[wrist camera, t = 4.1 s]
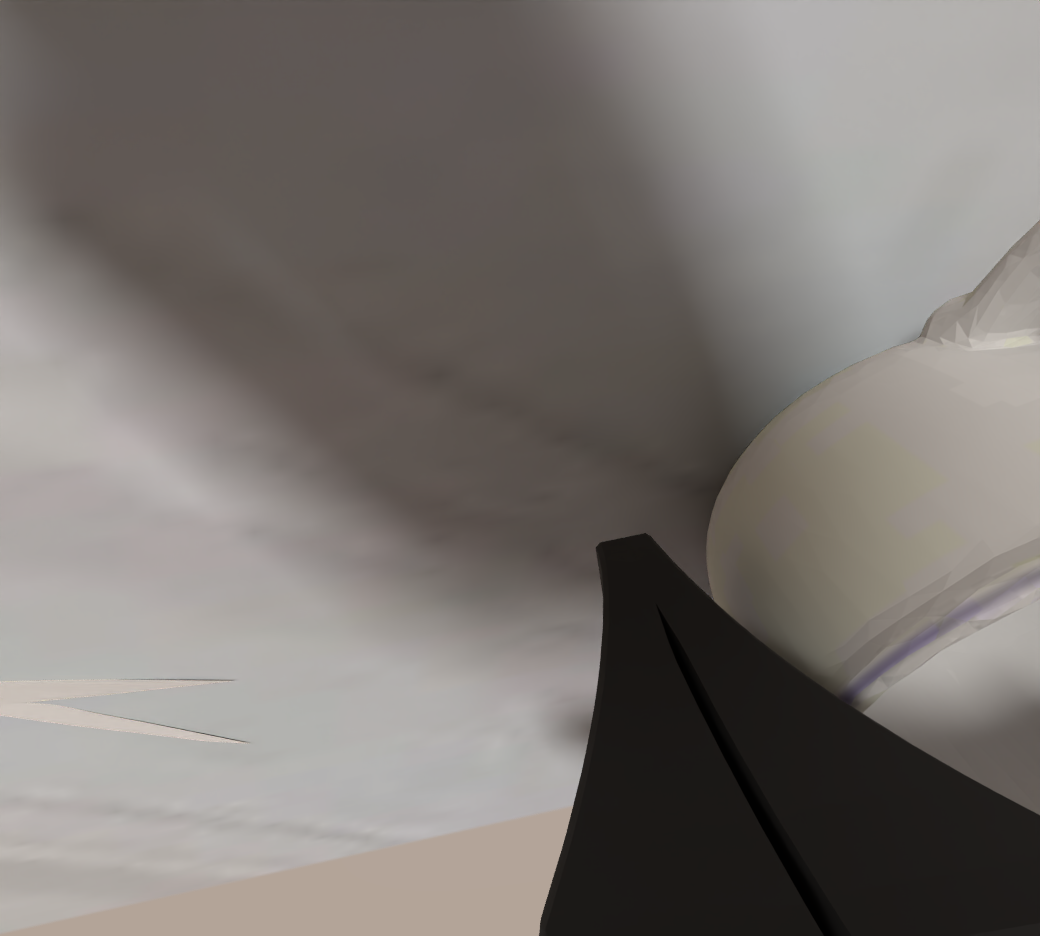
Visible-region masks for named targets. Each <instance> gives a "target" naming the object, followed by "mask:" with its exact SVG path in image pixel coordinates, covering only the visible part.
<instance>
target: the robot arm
mask: <svg viewBox="0 0 1040 936" xmlns="http://www.w3.org/2000/svg"><path fill="white" fill-rule="evenodd" d="M596 552H597V559H598V565H599V572H600V579H601V585H602V592H603V634H602V646H601V659H600V669H599V678H598V685H597V693H596V699H595V706H594V712H593V718H592V723H591V729H590V734H589V739H588V744H587V750H586V754H585V759H584V764H583V768H582V773H581V777H580V781H579V785H578V789H577V793H576V797H575V801H574V805H573V809H572V813H571V817H570V821H569V825H568V829H567V833H566V836H565V840H564V844H563V847H562V851H561V854H560V857H559V861H558V864H557V867H556V871H555V874H554V877H553V880H552V884H551V887H550V890H549V894H548V897H547V900H546V904H545V907H544V910H543V914H542V917H541V923H540V933H539V936H1040V815H1039V814H1037V813H1035V812H1033V811H1031V810H1029V809H1027V808H1025V807H1024V806H1022V805H1020V804H1018V803H1016V802H1014V801H1012V800H1010V799H1008V798H1006V797H1005V796H1003V795H1001V794H999V793H997V792H995V791H993V790H992V789H990V788H988V787H986V786H984V785H982V784H981V783H979V782H977V781H975V780H973V779H972V778H970V777H968V776H966V775H964V774H963V773H961V772H959V771H957V770H956V769H954V768H952V767H950V766H949V765H947V764H945V763H944V762H942V761H940V760H938V759H937V758H935V757H933V756H931V755H930V754H928V753H926V752H925V751H923V750H921V749H919V748H918V747H916V746H914V745H912V744H911V743H909V742H908V741H906V740H904V739H903V738H901V737H900V736H898V735H896V734H895V733H893V732H892V731H890V730H889V729H887V728H885V727H884V726H882V725H881V724H879V723H877V722H876V721H874V720H873V719H871V718H869V717H868V716H866V715H865V714H863V713H862V712H860V711H858V710H857V709H855V708H854V707H852V706H850V705H849V704H847V703H846V702H844V701H843V700H841V699H840V698H838V697H837V696H835V695H834V694H832V693H831V692H829V691H828V690H826V689H825V688H824V687H822V686H821V685H819V684H818V683H816V682H815V681H813V680H812V679H811V678H809V677H808V676H806V675H805V674H804V673H802V672H801V671H799V670H798V669H797V668H795V667H794V666H793V665H791V664H790V663H789V662H787V661H786V660H784V659H783V658H782V657H780V656H779V655H778V654H777V653H775V652H774V651H773V650H771V649H770V648H769V647H768V646H766V645H765V644H764V643H763V642H761V641H760V640H759V639H758V638H756V637H755V636H754V635H753V634H751V633H750V632H749V631H748V630H747V629H745V628H744V627H743V626H742V625H741V624H739V623H738V622H737V621H736V620H735V619H734V618H732V617H731V616H730V615H729V614H728V613H727V612H726V611H724V610H723V609H722V608H721V607H720V606H719V605H718V604H717V603H716V602H714V601H713V600H712V599H711V598H710V597H709V596H708V595H707V594H706V593H705V592H704V591H703V590H702V589H700V588H699V587H698V586H697V585H696V584H695V583H694V582H693V581H692V580H691V579H690V578H689V577H688V576H687V575H686V574H685V573H684V572H683V571H682V570H681V569H680V568H679V567H678V566H677V565H676V564H675V563H674V562H673V561H672V560H671V559H670V557H669V556H668V555H667V554H666V553H665V552H664V551H663V550H662V549H661V548H660V546H659V545H658V544H657V543H656V542H655V541H654V540H653V538H652V537H651V536H649V535H648V534H646V533H644V534H640V535H635V536H630V537H625V538H620V539H615V540H611V541H606V542H601V543H600V544H599V545H598V546H597V547H596Z"/></svg>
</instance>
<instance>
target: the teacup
mask: <svg viewBox="0 0 1040 936" xmlns="http://www.w3.org/2000/svg"><path fill="white" fill-rule="evenodd" d="M706 563H707V571H708V579H709V583H710V587H711V591H712V595H713V598H714V602H716V603H717V604H718V605H719V606H720V607H721V608H722V609H723V610H724V611H726V612H727V613H728V614H729V615H730V616H731V617H732V618H734V619H735V620H736V621H737V622H738V623H739V624H741V625H742V626H743V627H744V628H745V629H747V630H748V631H749V632H750V633H751V634H753V635H754V636H755V637H756V638H758V639H759V640H760V641H761V642H763V643H764V644H765V645H766V646H768V647H769V648H770V649H771V650H773V651H774V652H775V653H777V654H778V655H779V656H780V657H782V658H783V659H784V660H786V661H787V662H789V663H790V664H791V665H793V666H794V667H795V668H797V669H798V670H799V671H801V672H802V673H804V674H805V675H806V676H808V677H809V678H811V679H812V680H813V681H815V682H816V683H818V684H819V685H821V686H822V687H824V688H825V689H826V690H828V691H829V692H831V693H832V694H834V695H835V696H837V697H838V698H840V699H841V700H843V701H844V702H846V703H847V704H849V705H850V706H852V707H854V708H855V709H857V710H858V711H860V712H862V713H863V714H865V715H866V716H868V717H869V718H871V719H873V720H874V721H876V722H877V723H879V724H881V725H882V726H884V727H885V728H887V729H889V730H890V731H892V732H893V733H895V734H896V735H898V736H900V737H901V738H903V739H904V740H906V741H908V742H909V743H911V744H912V745H914V746H916V747H918V748H919V749H921V750H923V751H925V752H926V753H928V754H930V755H931V756H933V757H935V758H937V759H938V760H940V761H942V762H944V763H945V764H947V765H949V766H950V767H952V768H954V769H956V770H957V771H959V772H961V773H963V774H964V775H966V776H968V777H970V778H972V779H973V780H975V781H977V782H979V783H981V784H982V785H984V786H986V787H988V788H990V789H992V790H993V791H995V792H997V793H999V794H1001V795H1003V796H1005V797H1006V798H1008V799H1010V800H1012V801H1014V802H1016V803H1018V804H1020V805H1022V806H1024V807H1025V808H1027V809H1029V810H1031V811H1033V812H1035V813H1037V814H1039V815H1040V220H1039V221H1038V222H1037V223H1036V224H1035V225H1034V226H1033V227H1032V228H1031V229H1030V230H1029V231H1028V232H1027V233H1026V234H1025V235H1024V236H1023V237H1022V238H1021V239H1020V240H1019V241H1017V242H1016V243H1015V244H1014V245H1013V246H1012V247H1011V248H1010V250H1009V251H1008V252H1007V253H1006V254H1005V255H1004V256H1003V258H1002V259H1001V260H1000V261H999V262H998V263H997V264H996V265H995V267H994V268H993V269H992V270H991V271H990V272H989V273H988V275H987V276H986V277H985V278H984V279H983V280H982V281H981V283H980V284H979V285H978V286H977V287H976V288H975V289H974V291H973V292H971V293H968V294H965V295H962V296H959V297H956V298H953V299H951V300H949V301H948V302H946V303H945V304H943V305H942V306H941V307H939V308H938V309H936V310H935V311H934V312H933V313H932V315H931V316H930V317H929V318H928V320H927V321H926V323H925V326H924V328H923V330H922V333H921V335H920V337H919V338H917V339H916V340H914V341H913V342H909V343H906V344H902V345H899V346H895V347H892V348H890V349H888V350H885V351H883V352H881V353H879V354H876V355H874V356H872V357H869V358H867V359H865V360H862V361H860V362H858V363H856V364H853V365H851V366H849V367H848V368H846V369H844V370H842V371H840V372H838V373H837V374H835V375H833V376H831V377H830V378H828V379H826V380H825V381H823V382H821V383H820V384H818V385H817V386H815V387H814V388H812V389H810V390H809V391H807V392H806V393H804V394H803V395H802V396H800V397H799V398H798V399H797V400H795V401H794V402H793V403H792V404H790V405H789V406H788V407H787V408H785V409H784V410H783V411H782V412H780V413H779V414H778V415H777V416H776V417H775V418H774V419H773V420H772V421H771V422H770V423H769V424H768V425H766V427H765V428H764V429H763V430H762V431H761V432H760V433H759V434H758V435H757V437H756V438H755V439H754V440H753V441H752V442H751V444H750V445H749V446H748V447H747V449H746V450H745V451H744V452H743V454H742V455H741V456H740V457H739V459H738V460H737V462H736V463H735V465H734V466H733V468H732V469H731V471H730V473H729V475H728V477H727V479H726V480H725V482H724V484H723V486H722V488H721V490H720V492H719V494H718V496H717V499H716V502H715V505H714V508H713V511H712V515H711V519H710V523H709V528H708V532H707V545H706Z"/></svg>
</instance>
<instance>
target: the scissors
mask: <svg viewBox="0 0 1040 936" xmlns="http://www.w3.org/2000/svg"><path fill="white" fill-rule="evenodd" d="M220 682H229V681H205V680H119V679H105V680H34V681H0V716H7V717H15V718H22V719H29V720H36V721H43V722H50V723H57V724H65V725H73V726H81V727H89V728H97V729H105V730H114V731H123V732H132V733H141V734H150V735H158V736H166V737H174V738H182V739H191V740H199V741H213V742H230V743H245V742H240V741H235V740H230V739H225V738H220V737H215V736H210V735H205V734H200V733H195V732H191V731H186V730H181V729H176V728H171V727H166V726H161V725H156V724H151V723H146V722H141V721H135V720H130V719H124V718H119V717H114V716H108V715H103V714H98V713H93V712H89V711H84V710H79V709H74V708H70V707H64V706H58V705H52V704H38V703H27V702H38V701H48V700H59V699H69V698H79V697H90V696H100V695H110V694H119V693H128V692H137V691H146V690H156V689H165V688H174V687H183V686H192V685H201V684H211V683H220ZM248 744H250V743H248Z"/></svg>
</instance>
